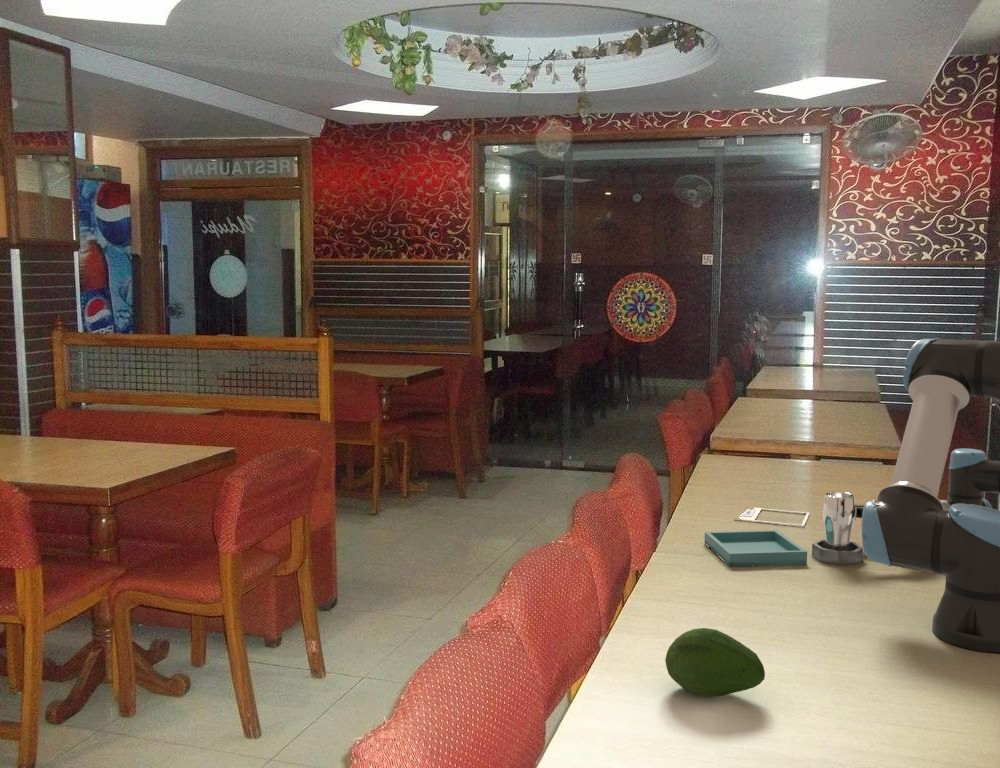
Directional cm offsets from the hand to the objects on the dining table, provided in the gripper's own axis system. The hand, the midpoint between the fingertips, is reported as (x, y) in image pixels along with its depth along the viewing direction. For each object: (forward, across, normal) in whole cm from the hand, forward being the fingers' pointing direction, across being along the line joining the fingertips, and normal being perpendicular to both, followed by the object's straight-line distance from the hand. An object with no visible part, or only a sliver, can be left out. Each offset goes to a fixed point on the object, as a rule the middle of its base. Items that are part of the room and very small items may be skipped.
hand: (847, 521), depth 216 cm
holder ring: (+2, 0, -8) cm, 9 cm away
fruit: (+61, -60, -9) cm, 86 cm away
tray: (+20, +7, -8) cm, 22 cm away
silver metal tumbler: (+2, 0, -9) cm, 9 cm away
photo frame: (-1, +36, -9) cm, 37 cm away
